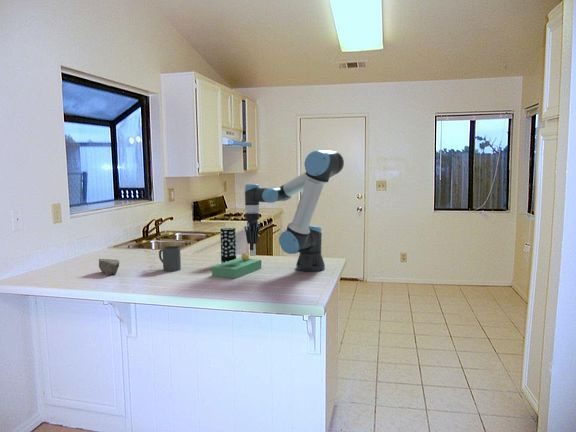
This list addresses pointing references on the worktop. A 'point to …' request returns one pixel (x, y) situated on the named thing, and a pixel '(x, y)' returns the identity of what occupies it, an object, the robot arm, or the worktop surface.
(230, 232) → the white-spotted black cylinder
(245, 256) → the ball
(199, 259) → the worktop surface
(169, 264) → the mug
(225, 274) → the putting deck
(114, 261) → the stone
